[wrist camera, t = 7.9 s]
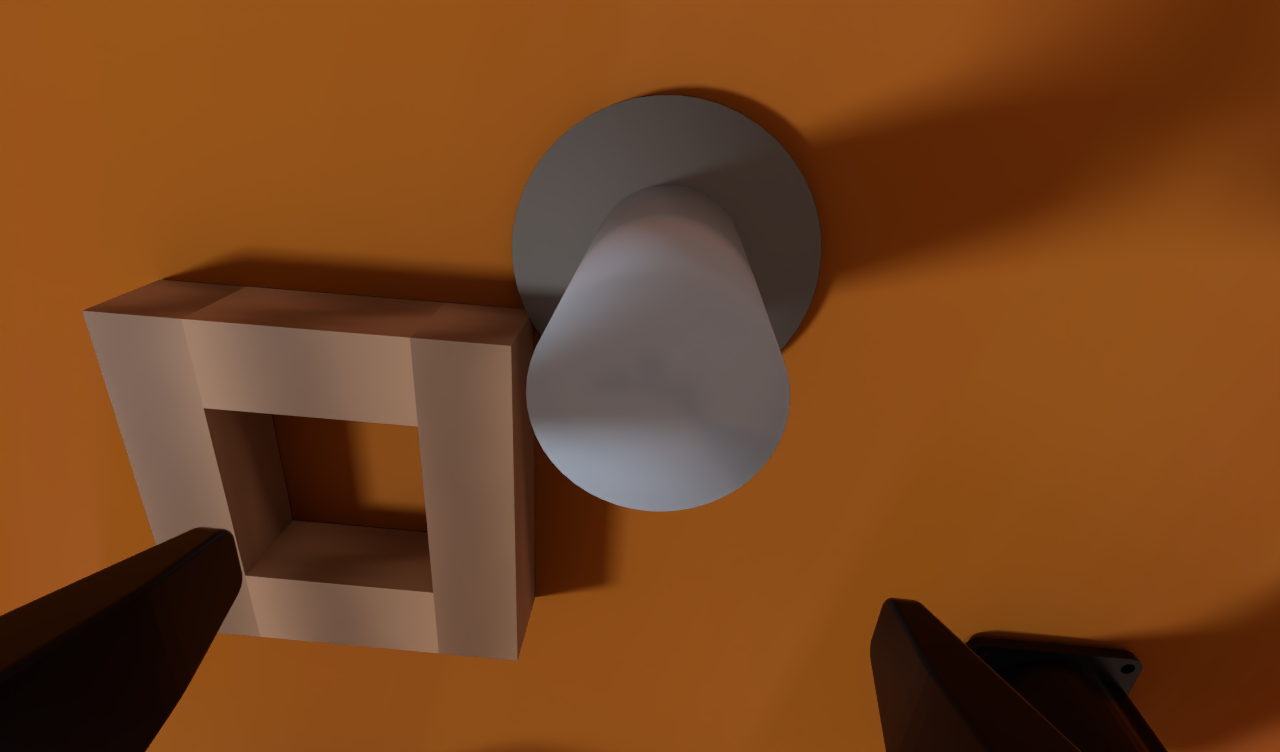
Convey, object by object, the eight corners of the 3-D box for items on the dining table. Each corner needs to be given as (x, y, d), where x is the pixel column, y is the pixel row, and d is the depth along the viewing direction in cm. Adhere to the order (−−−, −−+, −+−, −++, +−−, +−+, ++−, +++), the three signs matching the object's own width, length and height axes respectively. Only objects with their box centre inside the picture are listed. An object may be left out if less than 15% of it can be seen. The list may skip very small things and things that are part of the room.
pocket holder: (533, 309, 21) (510, 346, 18) (534, 598, 26) (517, 660, 23) (159, 279, 21) (82, 310, 18) (234, 571, 26) (183, 629, 23)
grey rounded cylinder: (753, 191, 18) (812, 287, 10) (732, 338, 20) (768, 522, 12) (595, 178, 18) (524, 264, 10) (589, 326, 20) (526, 500, 12)
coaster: (844, 107, 18) (850, 108, 17) (790, 402, 21) (793, 410, 21) (513, 83, 18) (508, 83, 17) (518, 379, 22) (514, 387, 21)
